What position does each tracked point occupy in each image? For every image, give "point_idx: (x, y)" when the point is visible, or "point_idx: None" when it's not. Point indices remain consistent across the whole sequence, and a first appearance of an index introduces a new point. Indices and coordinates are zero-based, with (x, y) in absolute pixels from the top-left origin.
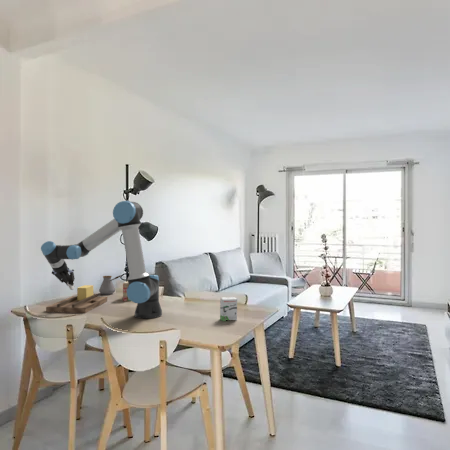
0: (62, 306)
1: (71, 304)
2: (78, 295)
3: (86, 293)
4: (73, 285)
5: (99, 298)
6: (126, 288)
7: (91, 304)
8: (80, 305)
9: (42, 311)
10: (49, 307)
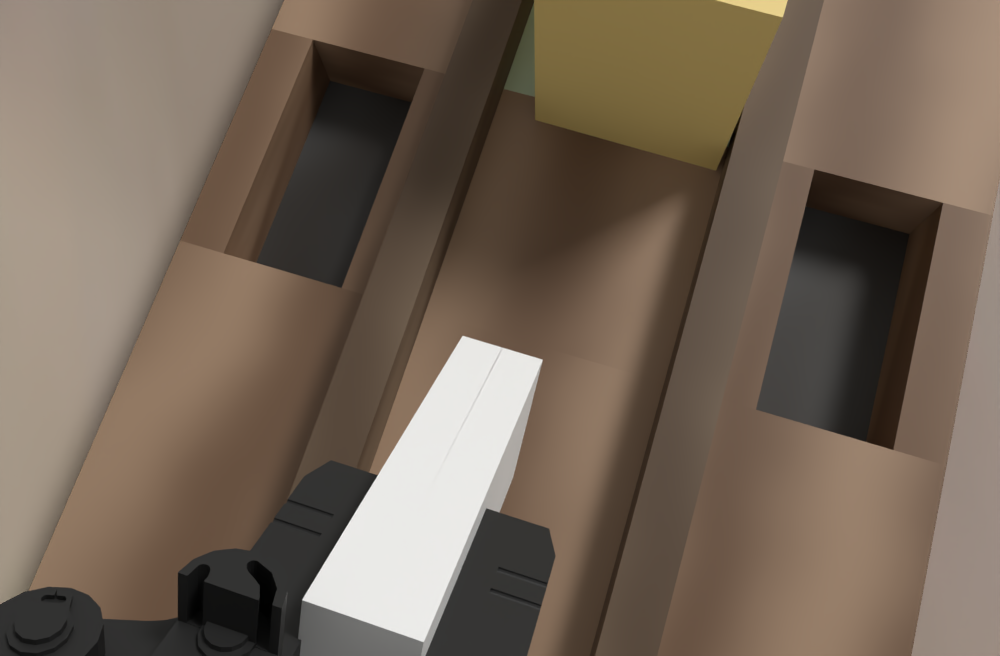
0: None
1: None
2: (560, 73)
3: (750, 90)
4: (519, 420)
5: (933, 19)
6: None
7: (911, 572)
8: (694, 630)
9: (4, 547)
10: None
